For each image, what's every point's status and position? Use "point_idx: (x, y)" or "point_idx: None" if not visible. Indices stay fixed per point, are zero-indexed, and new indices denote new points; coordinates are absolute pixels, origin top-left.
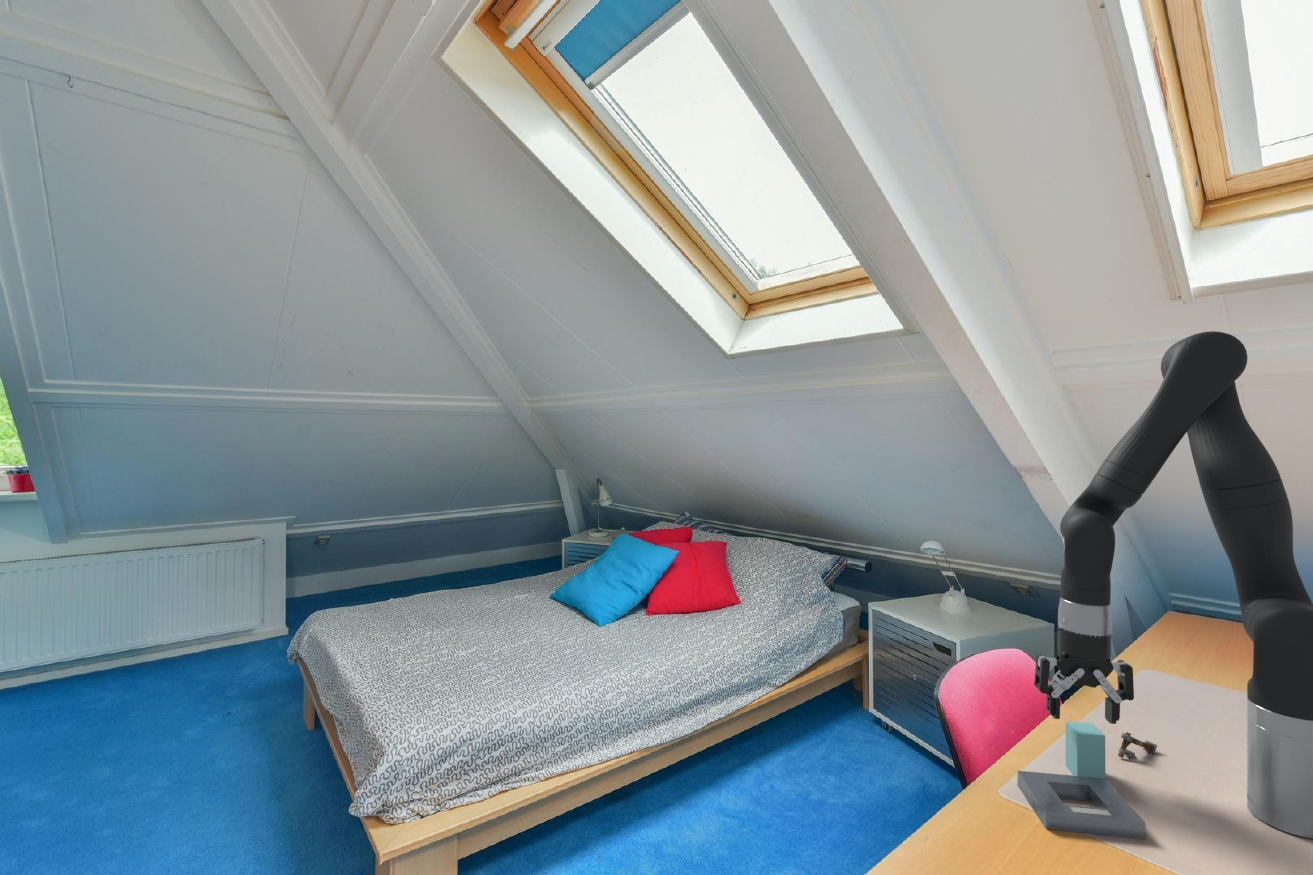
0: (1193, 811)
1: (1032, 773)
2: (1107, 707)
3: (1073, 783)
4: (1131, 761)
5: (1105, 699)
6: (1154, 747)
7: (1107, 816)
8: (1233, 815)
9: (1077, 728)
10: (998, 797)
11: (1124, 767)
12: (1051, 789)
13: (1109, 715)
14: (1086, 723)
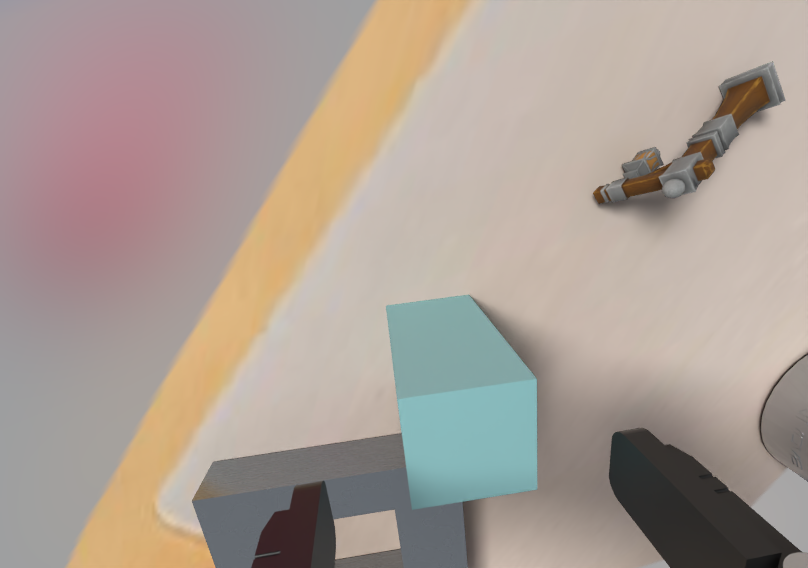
0: None
1: (238, 501)
2: (676, 522)
3: (352, 513)
4: (620, 204)
5: (727, 541)
6: (763, 107)
7: None
8: (713, 423)
9: (431, 461)
10: (156, 529)
11: (575, 256)
12: None
13: (640, 502)
14: (502, 389)
